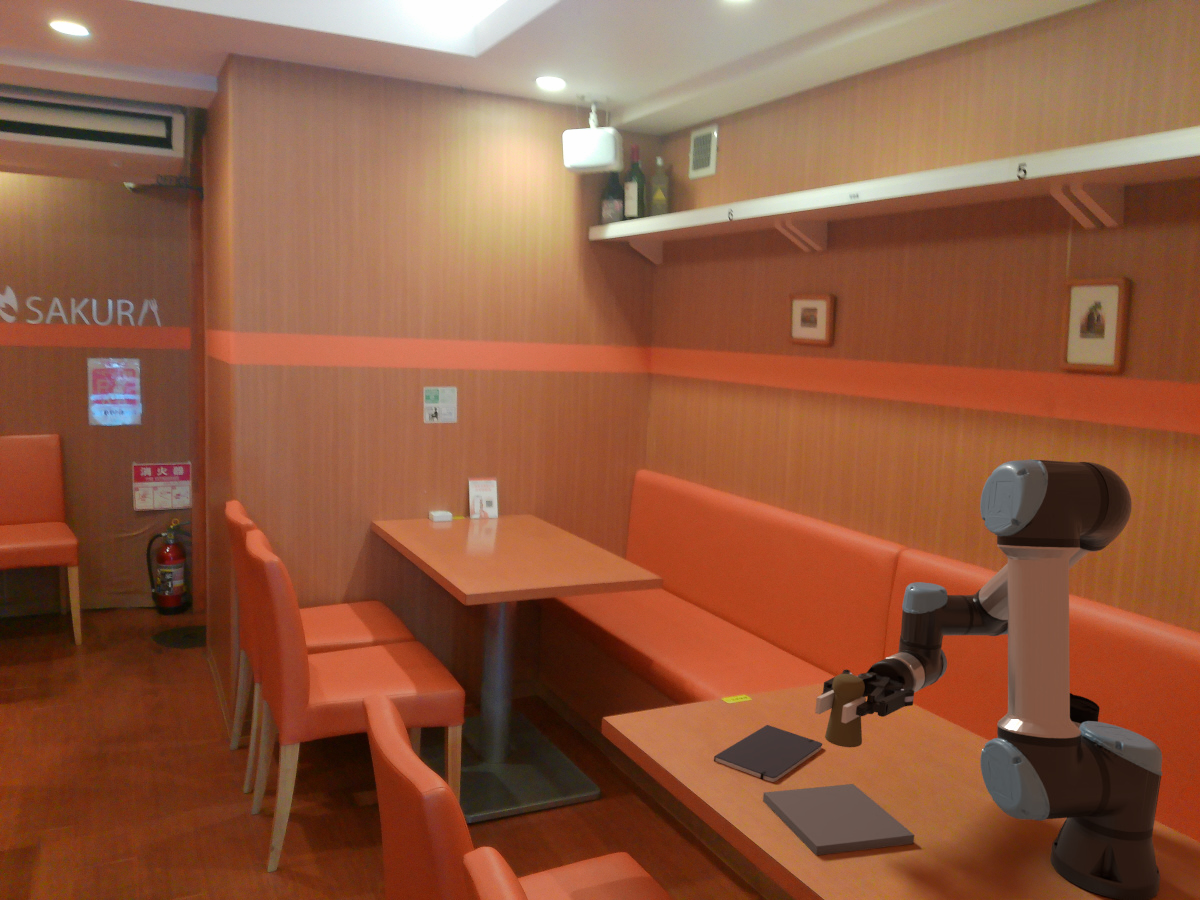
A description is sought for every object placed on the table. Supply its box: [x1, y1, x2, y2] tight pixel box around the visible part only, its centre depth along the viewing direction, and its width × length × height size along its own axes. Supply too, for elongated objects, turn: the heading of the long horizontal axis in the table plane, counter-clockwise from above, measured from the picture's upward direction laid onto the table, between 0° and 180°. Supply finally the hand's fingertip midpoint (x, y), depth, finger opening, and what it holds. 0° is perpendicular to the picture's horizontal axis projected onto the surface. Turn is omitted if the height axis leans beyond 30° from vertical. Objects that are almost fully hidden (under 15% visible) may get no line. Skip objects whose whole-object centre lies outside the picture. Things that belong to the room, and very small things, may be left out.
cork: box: [824, 673, 865, 748], centre depth 158 cm, size 6×6×11 cm
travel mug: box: [1070, 692, 1101, 728], centre depth 171 cm, size 6×7×20 cm
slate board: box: [762, 783, 915, 856], centre depth 160 cm, size 18×18×2 cm
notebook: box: [713, 724, 823, 783], centre depth 185 cm, size 13×2×21 cm
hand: (831, 710), depth 154 cm, fingers closed on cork, 4 cm apart
